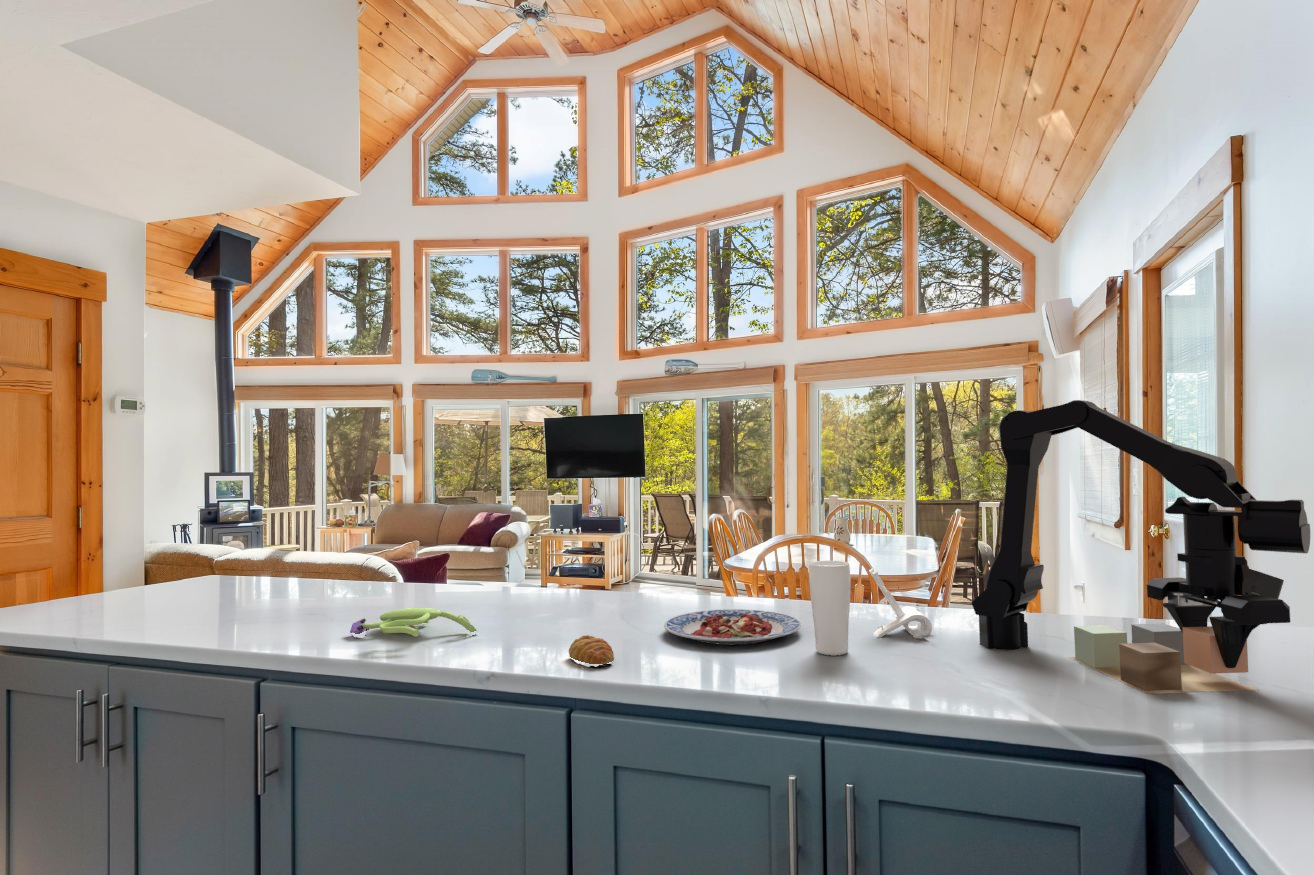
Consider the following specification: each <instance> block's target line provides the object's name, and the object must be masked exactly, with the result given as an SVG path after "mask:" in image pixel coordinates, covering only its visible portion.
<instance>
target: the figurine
mask: <svg viewBox="0 0 1314 875" xmlns="http://www.w3.org/2000/svg"><path fill="white" fill-rule="evenodd" d="M438 617H441V618H445V619H448V620H451V621H453V622H456V623H457V624H459V625H461V626H462V627H463V628H465V629H466V630H467V631H468V630H469V631H468V632H469V633H471V632H474V631H477V628H476V627H475V626H474V625H473V624H471V622H470V621H469V619H467V618H466V617H465V616H464V615H462V614H460V615H456V614H454V613H451V612H448V611H445V610H444V611H443V610H438V609H435V608H429V607H428V608H427V607H409V608H401V609H396V610H395V609H394V610H390V611H386V612H384V613H383V614H381V615H380V616H379V620H380V621H379V622H373V623H372V622H371V623H366V621H367V619H366V618H362V619H360V620H358V621H355V622H353V623H352V624H351V628H350V630H349V633H350V634H351V633H355V634H360V633H362V632H364V631H367V630H368V631H370V630H373V629H374V630H375V629H380V631H381V632H382V633H383V634H396V633H397V634H398V633H400V634H408V635H411V636H412V637H418V636H419V635H420V632H419V629H418V628H417V627H415V626H417V625H423V624H422V623H427V624H428V623H429V621H430V620H434V619H437V618H438ZM416 629H417V630H416ZM368 631H367V632H368ZM477 632H478V631H477Z"/></svg>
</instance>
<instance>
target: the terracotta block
mask: <svg viewBox="0 0 1314 875" xmlns="http://www.w3.org/2000/svg"><path fill="white" fill-rule="evenodd" d="M1183 647H1184V663H1185V664H1188V665H1190V666H1193V667H1196V668H1198V669H1201V670H1203V671H1206V672H1209V673H1211V674H1213V673H1215V674H1236V673H1237V674H1239V673H1245V674H1246V673H1249V657H1248V656H1249V654H1248V639H1247V640H1246V643H1245V645H1244V648H1243V650H1242V653H1241V655H1240V658H1239V660H1238V663H1237V665H1236V667H1235V668H1227V667H1226V666H1225V664H1224V662H1223V659H1222V657H1221V653H1220V650H1219V647H1218V644H1217V641H1216V637H1215V634H1214V631H1213V628H1212V625H1211V626H1210V625H1207V627H1183Z"/></svg>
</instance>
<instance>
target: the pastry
mask: <svg viewBox="0 0 1314 875" xmlns="http://www.w3.org/2000/svg"><path fill="white" fill-rule="evenodd" d="M568 655H569V656H568V657H569V658H570V657H571V658H573V659H575V660H578V661H581V662H585V663H589V664H607V663H609V662H612V661H613V662H614V661H615V657H614V655H615V654H614V651H613V648H612V646H611V645H610V644H609V643H608V642H607V641H606V640H605V639H603V638H600V637H595V636H593V635H589V634H588V635H582V636H580V637H579V638H576V639H574V640H573V642H572V643H571V644H570V646H569V648H568ZM613 662H612V663H613Z"/></svg>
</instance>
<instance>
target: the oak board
mask: <svg viewBox="0 0 1314 875" xmlns="http://www.w3.org/2000/svg"><path fill="white" fill-rule="evenodd" d="M1068 658H1070V659H1071V660H1073V661H1075V662H1077V663H1080V664H1082V665H1084V666H1086V667H1088V668H1090V669H1092V670H1095V671H1097V672H1099V673H1101V674H1103V675H1106V677H1107V676H1108V677H1110V678H1112V679H1114V680H1116V681H1118V682H1121V683H1123V684H1125V685H1126V686H1129V687H1131V688H1133V689H1135V690H1138V691H1140V692H1142V693H1143V694H1145V695H1147V694H1148V695H1149V694H1150V695H1151V694H1152V695H1153V694H1173V693H1174V694H1177V693H1179V694H1181V693H1205V692H1206V693H1207V692H1209V693H1212V692H1238V691H1239V692H1240V691H1259V689H1257V688H1255V687H1252V686H1250V685H1247V684H1245V683H1242V682H1239V681H1236V680H1234V679H1231V678H1228V677H1226V676H1223V675H1220V674H1219V673H1213V674H1211V673H1209V672H1206V671H1203V670H1201V669H1198V668H1196V667H1193V666H1190V665H1181V679H1182V690H1155V691H1144V690H1142V689H1140V688H1138V687H1135V686H1133V685H1131V684H1129V683H1127V682H1125V681H1123V680H1121V672H1120V667H1102V668H1094V667H1092V666H1090V665H1088V664H1086V663H1084V662H1081V661H1079V660H1077V659H1075V656H1068Z"/></svg>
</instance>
